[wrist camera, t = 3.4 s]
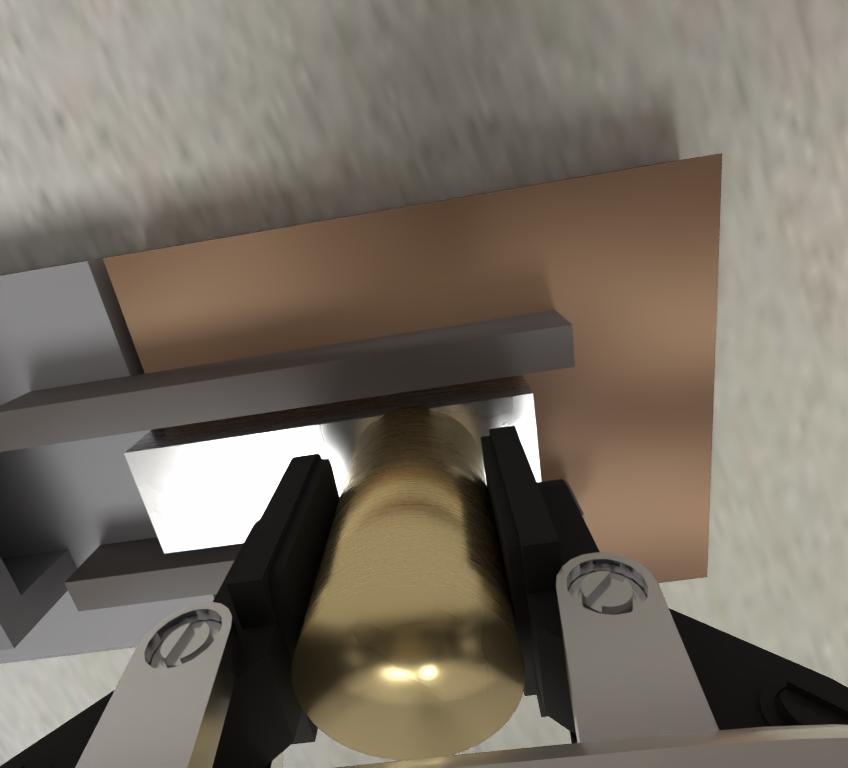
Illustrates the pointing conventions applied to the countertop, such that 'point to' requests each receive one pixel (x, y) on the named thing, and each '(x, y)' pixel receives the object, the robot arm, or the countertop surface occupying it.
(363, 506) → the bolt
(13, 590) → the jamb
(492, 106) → the countertop surface
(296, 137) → the countertop surface
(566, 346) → the wooden block with rails
